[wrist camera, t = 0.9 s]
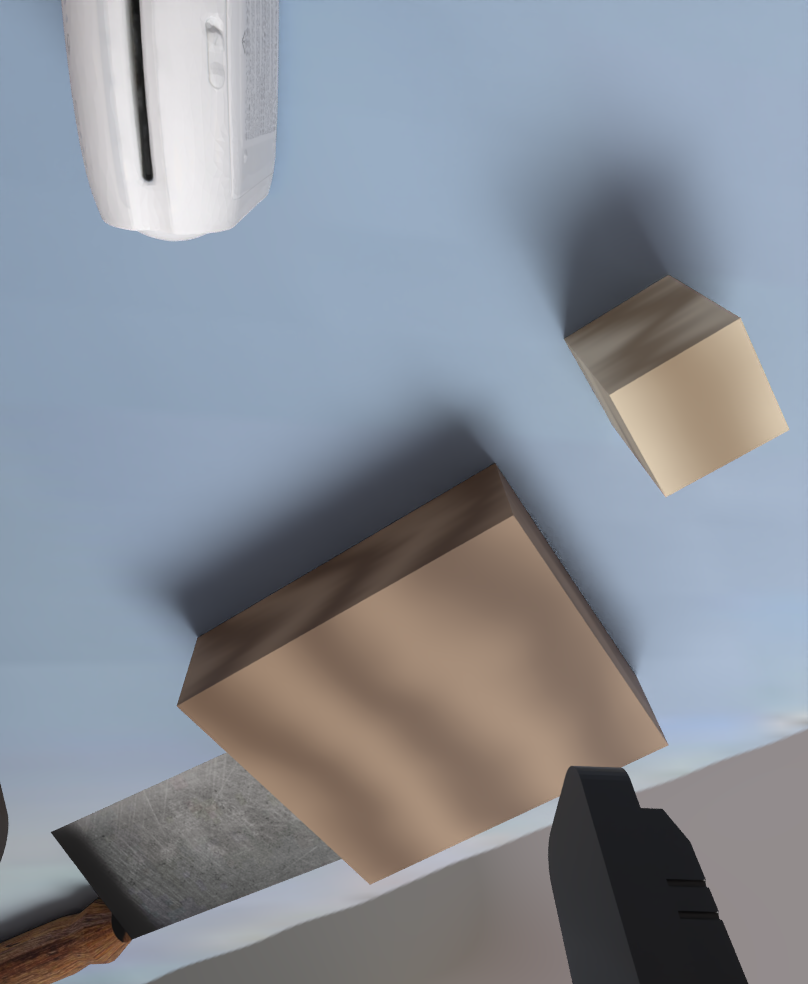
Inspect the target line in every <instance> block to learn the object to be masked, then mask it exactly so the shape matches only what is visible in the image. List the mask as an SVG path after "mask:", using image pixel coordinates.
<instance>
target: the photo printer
mask: <svg viewBox="0 0 808 984" xmlns="http://www.w3.org/2000/svg"><path fill="white" fill-rule="evenodd" d="M61 2H62V13H63V23H64V33H65V43H66V51H67V59H68V67H69V76H70V84H71V91H72V98H73V104H74V111H75V118H76V124H77V129H78V135H79V141H80V146H81V151H82V156H83V161H84V165H85V169H86V173H87V177H88V180H89V185H90V188H91V191H92V194H93V197H94V199H95V202H96V205H97V207H98V210H99V212H100V215H101V217H102V219H103V220H104V221H105V222H106V223H107V224H109V225H111V226H114V227H117V228H122V229H127V230H132V231H139V232H140V233H142V234H145V235H147V236H149V237H153V238H156V239H161V240H167V241H184V240H190V239H194V238H197V237H200V236H203V235H205V234H207V233H214V232H220V231H224V230H229V229H231V228H233V227H234V226H235V225H236V224H237V223H238V222H239V221H241V220H242V218H244V217H245V216H246V215H247V214H248V213H249V212H250V211H251V210H252V209H253V208H254V207H255V206H256V205H257V204H258V203H260V202H261V201H262V200H263V199H264V198H265V197H266V196H267V195H268V193H269V189H270V185H271V181H272V176H273V171H274V164H275V151H276V130H277V103H278V53H279V0H61Z"/></svg>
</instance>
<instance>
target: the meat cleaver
mask: <svg viewBox="0 0 808 984" xmlns="http://www.w3.org/2000/svg"><path fill="white" fill-rule="evenodd" d="M51 833H52V834H53V836H54V837H55V838H56V840H57V841H58V842H59V844H60V845H61V846H62V848H63V849H64V850H65V852H66V853H67V854H68V856H69V857H70V858H71V860H72V861H73V862H74V864H75V865H76V866H77V868H78V869H79V870H80V872H81V873H82V874H83V876H84V877H85V878H86V880H87V881H88V882H89V884H90V885H91V886H92V888H93V889H94V890H95V892H96V893H97V894H98V895H99V897H100V898H101V899H97V900H95V901H94V902H93V903H92V904H90V905H89V906H88V907H87V908H86V909H84V910H83V911H82V912H81V913H78V914H74V915H69V916H65V917H62V918H59V919H56V920H54V921H52V922H49V923H47V924H44V925H42V926H40V927H37V928H35V929H33V930H30V931H28V932H26V933H23V934H21V935H19V936H16V937H14V938H12V939H9V940H7V941H4V942H2V943H0V984H51V983H53V982H56V981H58V980H61V979H63V978H65V977H68V976H70V975H73V974H75V973H77V972H78V971H80V970H82V969H83V968H85V967H86V966H88V965H89V964H106V963H110V962H112V961H115V959H116V958H117V957H118V956H119V955H120V954H121V953H122V951H123V950H124V949H125V948H126V946H127V945H128V944H129V943H130V942H131V940H132V939H134V938H137V937H140V936H142V935H145V934H147V933H150V932H153V931H155V930H158V929H160V928H163V927H166V926H168V925H171V924H173V923H176V922H179V921H181V920H184V919H186V918H189V917H192V916H194V915H197V914H199V913H202V912H205V911H207V910H210V909H212V908H215V907H218V906H220V905H223V904H225V903H228V902H231V901H233V900H236V899H238V898H241V897H244V896H246V895H249V894H251V893H254V892H257V891H259V890H262V889H264V888H267V887H270V886H272V885H275V884H277V883H280V882H283V881H285V880H288V879H290V878H293V877H296V876H298V875H301V874H303V873H306V872H309V871H311V870H314V869H316V868H319V867H322V866H324V865H327V864H329V863H332V862H335V861H337V860H340V859H342V858H341V857H340V856H339V855H337V854H336V853H335V852H334V851H333V850H332V849H331V848H330V847H329V846H328V845H327V844H326V843H325V842H323V841H322V840H321V839H320V838H319V837H318V836H317V835H316V834H315V833H314V832H313V831H312V830H310V829H309V828H308V827H307V826H306V825H305V824H304V823H303V822H302V821H301V820H300V819H299V818H297V817H296V816H295V815H294V814H293V813H292V812H291V811H290V810H289V809H288V808H287V807H286V806H284V805H283V804H282V803H281V802H280V801H279V800H278V799H277V798H276V797H275V796H274V795H273V794H271V793H270V792H269V791H268V790H267V789H266V788H265V787H264V786H263V785H262V784H261V783H260V782H258V781H257V780H256V779H255V778H254V777H253V776H252V775H251V774H250V773H249V772H248V771H247V770H245V769H244V768H243V767H242V766H241V765H240V764H239V763H238V762H237V761H236V760H235V759H234V758H232V757H231V756H230V755H229V754H228V753H225V754H223V755H220V756H218V757H216V758H214V759H211V760H209V761H207V762H205V763H203V764H200V765H198V766H196V767H194V768H192V769H189V770H187V771H185V772H183V773H181V774H178V775H176V776H174V777H172V778H170V779H167V780H165V781H163V782H161V783H159V784H156V785H154V786H152V787H150V788H148V789H145V790H143V791H141V792H139V793H136V794H134V795H132V796H130V797H128V798H125V799H123V800H121V801H119V802H117V803H114V804H112V805H110V806H108V807H106V808H103V809H101V810H99V811H97V812H95V813H92V814H90V815H88V816H86V817H84V818H81V819H79V820H77V821H75V822H73V823H70V824H68V825H66V826H64V827H61V828H59V829H57V830H55V831H53V832H51Z"/></svg>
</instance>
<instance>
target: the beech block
mask: <svg viewBox="0 0 808 984" xmlns="http://www.w3.org/2000/svg"><path fill="white" fill-rule="evenodd" d="M564 340H565V341H566V343H567V345H568V347H569V349H570V350H571V352H572V354H573V356H574V358H575V359H576V361H577V363H578V365H579V366H580V368H581V370H582V372H583V374H584V375H585V377H586V379H587V381H588V382H589V384H590V386H591V388H592V390H593V391H594V393H595V395H596V397H597V399H598V400H599V402H600V404H601V406H602V407H603V409H604V411H605V413H606V415H607V416H608V418H609V420H610V422H611V423H612V425H613V427H614V428H615V430H616V431H617V432H618V434H619V435H620V436H621V438H622V439H623V440H624V442H625V443H626V444H627V446H628V447H629V448H630V450H631V451H632V453H633V454H634V455H635V457H636V458H637V459H638V461H639V462H640V463H641V465H642V466H643V467H644V469H645V470H646V471H647V473H648V474H649V475H650V477H651V478H652V479H653V481H654V482H655V484H656V485H657V486H658V488H659V489H660V490H661V492H662V493H663V494H664V496H665V497H667V496H669V495H671V494H673V493H674V492H676V491H678V490H680V489H682V488H684V487H685V486H687V485H689V484H691V483H693V482H695V481H696V480H698V479H700V478H702V477H704V476H706V475H707V474H709V473H711V472H713V471H715V470H717V469H718V468H720V467H722V466H724V465H726V464H728V463H729V462H731V461H733V460H735V459H737V458H739V457H740V456H742V455H744V454H746V453H748V452H750V451H751V450H753V449H755V448H757V447H759V446H761V445H762V444H764V443H766V442H768V441H770V440H772V439H773V438H775V437H777V436H779V435H781V434H783V433H784V432H786V431H788V430H789V428H788V425H787V423H786V421H785V419H784V416H783V414H782V412H781V409H780V407H779V405H778V403H777V400H776V398H775V396H774V393H773V391H772V389H771V387H770V384H769V382H768V380H767V377H766V375H765V373H764V371H763V368H762V366H761V364H760V362H759V359H758V357H757V355H756V352H755V350H754V348H753V346H752V343H751V341H750V339H749V336H748V334H747V332H746V330H745V327H744V325H743V323H742V320H741V318H740V317H738V316H736V315H735V314H733V313H731V312H730V311H728V310H726V309H725V308H723V307H721V306H720V305H718V304H716V303H715V302H713V301H711V300H710V299H708V298H706V297H705V296H703V295H701V294H700V293H698V292H697V291H695V290H693V289H692V288H690V287H688V286H687V285H685V284H683V283H682V282H680V281H678V280H677V279H675V278H673V277H672V276H670V275H667V276H666V277H664V278H662V279H661V280H659V281H657V282H656V283H654V284H653V285H651V286H649V287H648V288H646V289H644V290H643V291H641V292H640V293H638V294H636V295H635V296H633V297H631V298H630V299H628V300H627V301H625V302H623V303H622V304H620V305H618V306H617V307H615V308H613V309H612V310H610V311H609V312H607V313H605V314H604V315H602V316H600V317H599V318H597V319H596V320H594V321H592V322H591V323H589V324H587V325H586V326H584V327H583V328H581V329H579V330H578V331H576V332H574V333H573V334H571V335H570V336H568V337H566V338H565V339H564Z"/></svg>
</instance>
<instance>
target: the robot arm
mask: <svg viewBox="0 0 808 984" xmlns="http://www.w3.org/2000/svg"><path fill="white" fill-rule="evenodd" d="M7 835H8V814H7V809H6V805H5V801H4V797H3V793H2V788H1V784H0V862H1V859H2V856H3V853H4V849H5V845H6V841H7ZM548 861H549V872H550V880H551V885H552V890H553V894H554V899H555V904H556V908H557V913H558V917H559V922H560V927H561V931H562V936H563V941H564V946H565V950H566V955H567V959H568V964H569V969H570V973H571V978H572V983H573V984H748V982H747V980H746V977H745V975H744V972H743V970H742V968H741V965H740V962H739V960H738V958H737V955H736V953H735V950H734V948H733V945H732V943H731V940H730V938H729V936H728V933H727V931H726V928H725V926H724V923H723V921H722V920H720V919H719V916H718V913H719V911H718V909H717V906H716V904H715V902H714V899H713V897H712V894H711V892H710V889H709V888H707V887H706V883H705V881H706V879H705V877H704V875H703V872H702V870H701V867H700V865H699V862H698V860H697V858H696V855H695V852H694V850H693V848H692V845H691V843H690V841H689V840H688V839H687V838H686V836H685V835H684V834H683V833H682V832H681V830H680V829H679V828H678V827H677V826H676V824H674V822H673V821H672V820H671V819H670V817H669V816H668V815H667V814H666V813H665V811H664V810H663V809H649V808H640V805H639V802H638V800H637V797H636V794H635V791H634V789H633V786H632V783H631V780H630V778H629V776H628V774H627V772H626V771H625V770H624V769H623V768H620V767H592V766H570V767H569V768H568V770H567V772H566V775H565V779H564V783H563V787H562V790H561V794H560V798H559V802H558V806H557V809H556V813H555V817H554V821H553V825H552V828H551V832H550V837H549V847H548Z"/></svg>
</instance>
